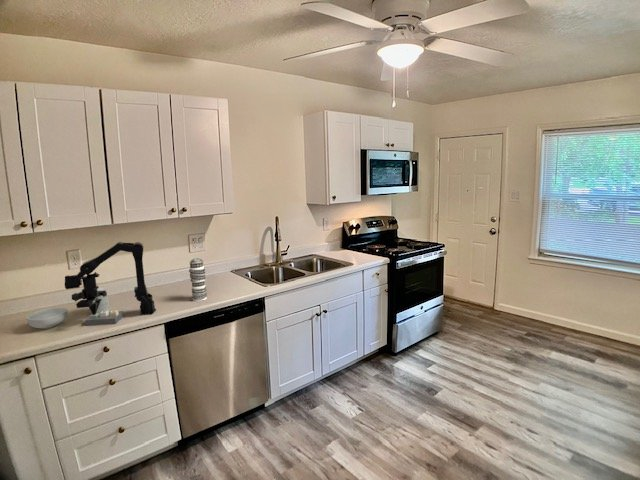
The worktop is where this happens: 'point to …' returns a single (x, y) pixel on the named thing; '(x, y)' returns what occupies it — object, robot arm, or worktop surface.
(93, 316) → the key
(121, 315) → the gray key socket board
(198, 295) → the decorative candle
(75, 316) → the worktop surface
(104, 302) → the supplement box
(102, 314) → the key mid
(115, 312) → the key
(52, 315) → the cereal bowl
